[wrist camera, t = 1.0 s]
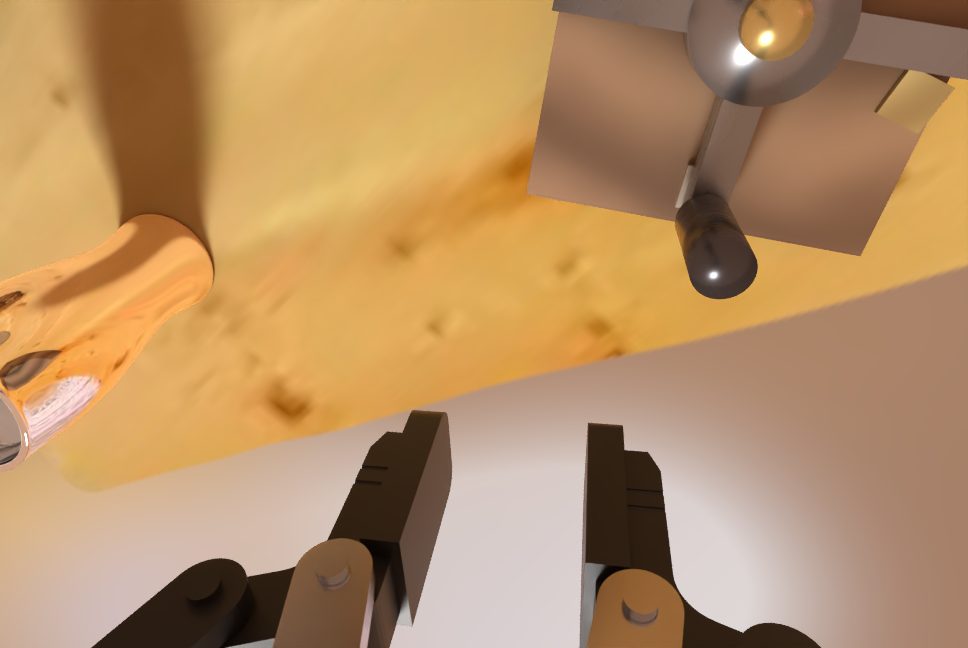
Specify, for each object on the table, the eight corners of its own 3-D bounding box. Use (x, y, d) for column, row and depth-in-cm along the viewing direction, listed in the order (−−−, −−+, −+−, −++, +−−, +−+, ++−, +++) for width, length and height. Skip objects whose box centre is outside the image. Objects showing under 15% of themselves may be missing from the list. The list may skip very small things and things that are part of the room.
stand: (607, -297, 23) (608, -320, 21) (1080, -233, 22) (1128, -252, 20) (524, 180, 32) (519, 194, 30) (850, 240, 31) (867, 259, 29)
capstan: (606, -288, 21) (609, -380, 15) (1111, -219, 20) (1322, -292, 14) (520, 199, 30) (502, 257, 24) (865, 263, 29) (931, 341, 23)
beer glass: (144, 181, 36) (-109, 307, 23) (242, 265, 37) (58, 424, 25) (94, 255, 39) (-152, 402, 26) (187, 329, 41) (-1, 500, 28)
